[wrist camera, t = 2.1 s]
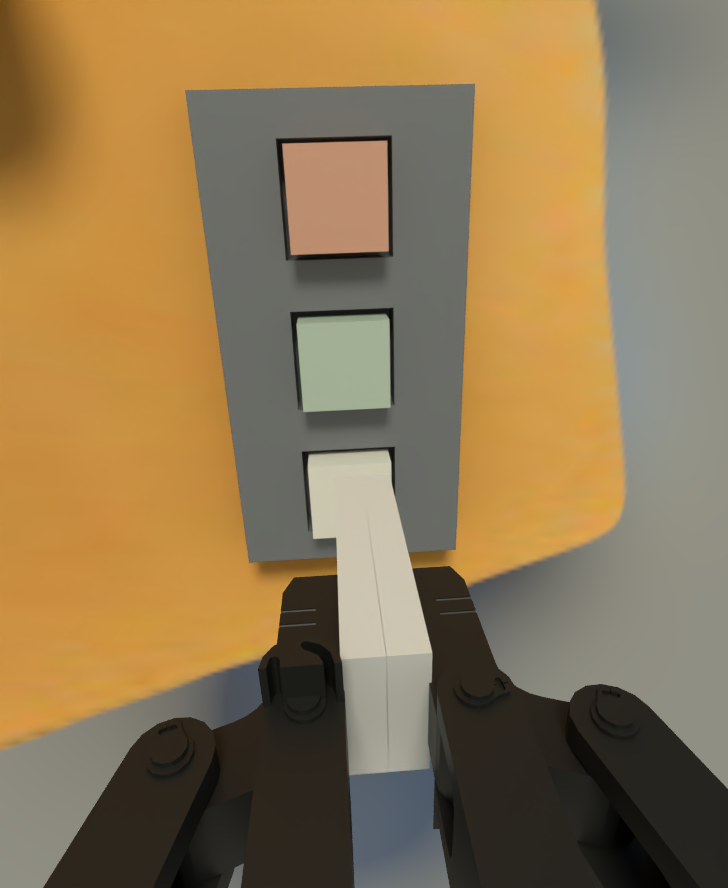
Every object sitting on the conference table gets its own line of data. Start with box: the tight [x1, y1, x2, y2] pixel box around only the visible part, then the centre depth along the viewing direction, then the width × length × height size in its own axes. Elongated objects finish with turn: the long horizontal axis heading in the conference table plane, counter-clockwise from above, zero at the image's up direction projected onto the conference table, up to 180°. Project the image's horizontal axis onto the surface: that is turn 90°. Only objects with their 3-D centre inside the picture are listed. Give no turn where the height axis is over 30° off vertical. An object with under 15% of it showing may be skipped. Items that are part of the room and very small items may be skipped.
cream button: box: [308, 448, 391, 539], centre depth 35 cm, size 5×5×2 cm
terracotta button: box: [282, 141, 389, 255], centre depth 28 cm, size 5×5×2 cm
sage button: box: [296, 313, 391, 412], centre depth 31 cm, size 5×5×2 cm
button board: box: [185, 84, 475, 562], centre depth 33 cm, size 14×27×2 cm, turn 2°
